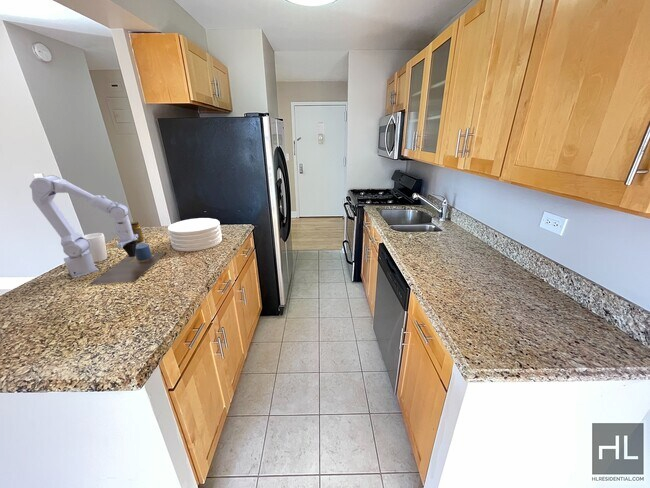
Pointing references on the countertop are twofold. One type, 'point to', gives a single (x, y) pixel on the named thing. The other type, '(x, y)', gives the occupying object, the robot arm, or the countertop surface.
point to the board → (127, 270)
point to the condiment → (137, 232)
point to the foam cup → (97, 246)
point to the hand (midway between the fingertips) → (132, 256)
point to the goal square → (140, 260)
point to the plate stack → (195, 234)
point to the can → (143, 252)
